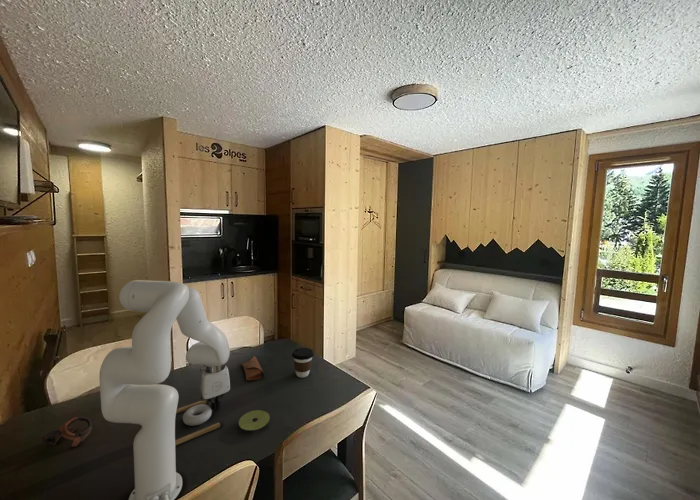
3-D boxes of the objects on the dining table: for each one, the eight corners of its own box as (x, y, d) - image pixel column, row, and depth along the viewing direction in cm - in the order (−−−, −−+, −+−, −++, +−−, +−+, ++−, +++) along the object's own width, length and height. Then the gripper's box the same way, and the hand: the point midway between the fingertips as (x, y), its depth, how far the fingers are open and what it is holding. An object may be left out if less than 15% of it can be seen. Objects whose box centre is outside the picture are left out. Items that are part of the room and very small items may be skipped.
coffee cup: (287, 378, 143) (288, 354, 142) (296, 367, 153) (297, 345, 152) (308, 381, 140) (309, 358, 139) (316, 370, 151) (317, 348, 150)
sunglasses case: (239, 364, 153) (246, 352, 155) (251, 368, 157) (257, 356, 158) (246, 381, 138) (253, 368, 139) (259, 385, 141) (266, 372, 143)
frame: (220, 427, 108) (220, 424, 108) (166, 449, 97) (166, 446, 97) (205, 401, 122) (205, 398, 122) (157, 418, 111) (157, 415, 111)
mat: (248, 440, 102) (248, 434, 102) (233, 424, 110) (233, 419, 109) (275, 423, 111) (275, 419, 111) (259, 410, 118) (259, 406, 118)
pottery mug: (82, 427, 106) (92, 410, 105) (87, 450, 101) (97, 432, 100) (35, 439, 95) (45, 420, 94) (39, 465, 91) (49, 445, 89)
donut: (176, 426, 108) (200, 429, 106) (176, 417, 107) (200, 420, 106) (194, 409, 118) (217, 412, 116) (194, 401, 117) (217, 404, 116)
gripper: (196, 376, 106) (197, 422, 108) (237, 364, 116) (237, 407, 118) (191, 368, 112) (192, 412, 114) (231, 357, 122) (231, 397, 124)
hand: (215, 409), depth 116 cm, fingers closed
